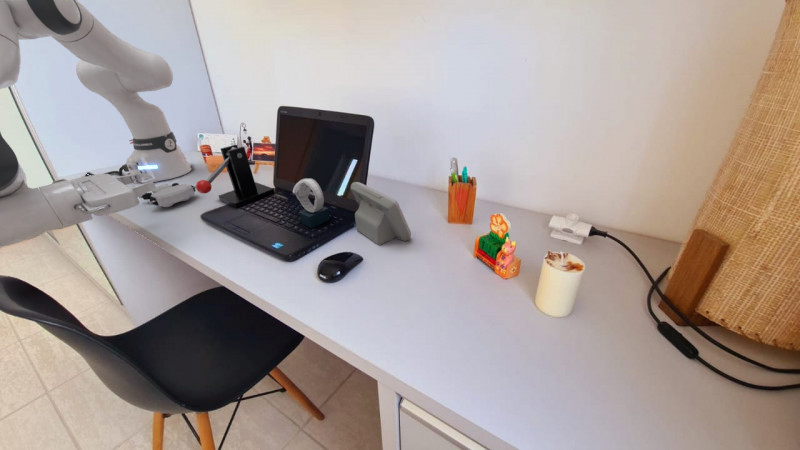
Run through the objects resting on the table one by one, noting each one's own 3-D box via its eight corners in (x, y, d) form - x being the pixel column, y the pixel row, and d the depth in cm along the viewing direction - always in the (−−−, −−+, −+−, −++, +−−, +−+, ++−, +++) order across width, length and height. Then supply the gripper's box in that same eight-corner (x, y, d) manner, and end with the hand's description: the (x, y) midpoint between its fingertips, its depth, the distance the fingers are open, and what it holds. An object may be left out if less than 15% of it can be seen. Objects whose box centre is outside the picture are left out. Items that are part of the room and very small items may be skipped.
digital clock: (414, 242, 70) (413, 197, 65) (376, 254, 67) (371, 208, 62) (383, 212, 83) (379, 173, 78) (349, 222, 80) (343, 181, 74)
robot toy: (140, 206, 97) (160, 214, 89) (132, 192, 95) (152, 199, 87) (182, 191, 106) (204, 197, 98) (176, 178, 104) (198, 183, 95)
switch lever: (207, 197, 86) (196, 189, 84) (201, 194, 89) (190, 186, 86) (245, 156, 91) (236, 146, 89) (239, 154, 93) (229, 144, 91)
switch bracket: (236, 208, 90) (219, 156, 83) (219, 200, 96) (201, 151, 89) (274, 193, 98) (261, 144, 91) (257, 186, 104) (243, 140, 97)
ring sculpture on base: (314, 212, 85) (306, 173, 80) (334, 221, 80) (327, 179, 75) (296, 221, 82) (286, 180, 76) (316, 230, 77) (306, 187, 71)
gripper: (72, 200, 60) (157, 176, 69) (52, 179, 71) (127, 161, 81) (90, 229, 63) (169, 203, 72) (68, 205, 74) (138, 185, 84)
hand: (146, 180), depth 76 cm, fingers open, 8 cm apart
